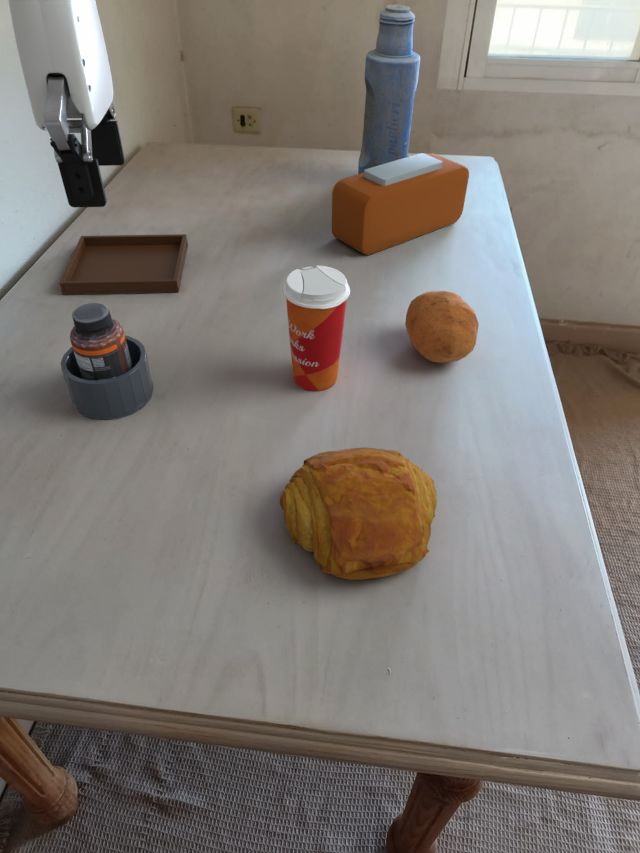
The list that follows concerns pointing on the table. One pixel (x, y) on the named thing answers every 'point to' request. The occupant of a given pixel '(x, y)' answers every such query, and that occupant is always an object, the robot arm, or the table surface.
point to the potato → (441, 326)
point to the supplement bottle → (99, 343)
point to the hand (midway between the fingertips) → (99, 183)
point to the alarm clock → (398, 201)
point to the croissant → (360, 511)
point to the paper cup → (316, 324)
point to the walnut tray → (125, 265)
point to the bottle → (389, 89)
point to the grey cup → (110, 386)
